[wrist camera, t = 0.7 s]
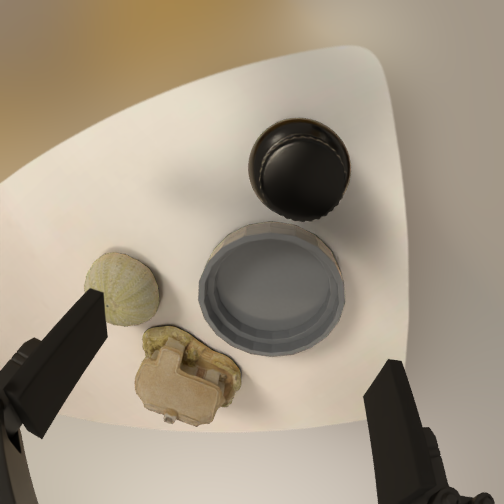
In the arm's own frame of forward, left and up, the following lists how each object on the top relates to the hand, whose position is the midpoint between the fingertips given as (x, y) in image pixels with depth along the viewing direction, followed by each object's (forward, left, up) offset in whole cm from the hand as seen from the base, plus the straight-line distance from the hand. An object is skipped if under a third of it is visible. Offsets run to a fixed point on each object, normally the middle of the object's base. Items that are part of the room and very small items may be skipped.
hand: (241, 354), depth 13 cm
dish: (+6, +4, -19) cm, 20 cm away
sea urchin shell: (+14, -11, -19) cm, 26 cm away
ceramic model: (+22, 0, -19) cm, 29 cm away
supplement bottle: (-7, 0, -19) cm, 20 cm away
